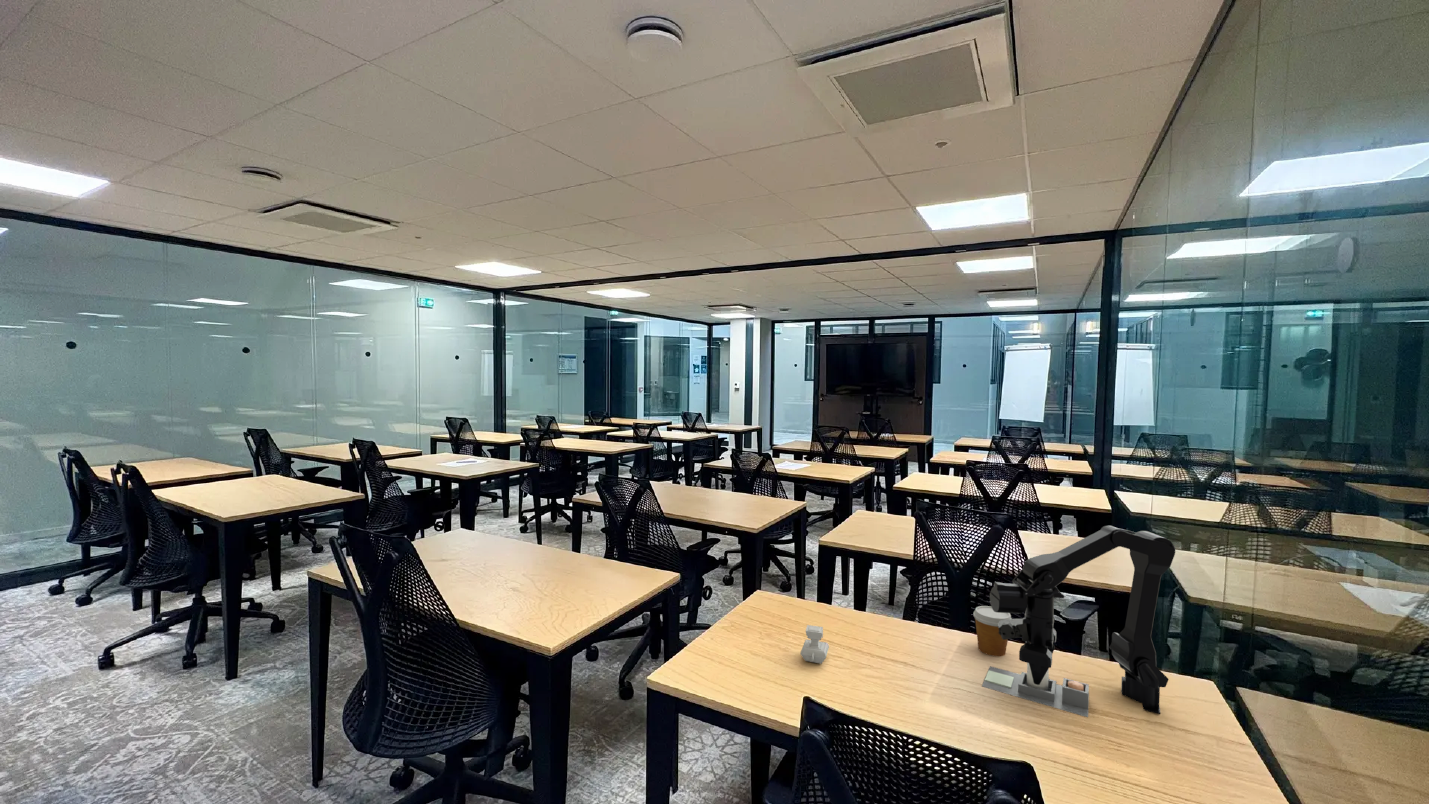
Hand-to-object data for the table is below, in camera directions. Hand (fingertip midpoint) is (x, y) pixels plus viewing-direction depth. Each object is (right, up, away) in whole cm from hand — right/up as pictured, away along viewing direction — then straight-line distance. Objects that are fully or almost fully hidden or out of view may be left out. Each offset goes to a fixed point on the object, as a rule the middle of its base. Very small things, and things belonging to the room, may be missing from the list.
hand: (1037, 679), depth 130 cm
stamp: (-50, -3, +16) cm, 52 cm away
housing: (0, -4, 0) cm, 4 cm away
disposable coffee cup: (-1, -4, +20) cm, 20 cm away
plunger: (+6, -2, -4) cm, 8 cm away
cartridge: (0, -3, 0) cm, 2 cm away
